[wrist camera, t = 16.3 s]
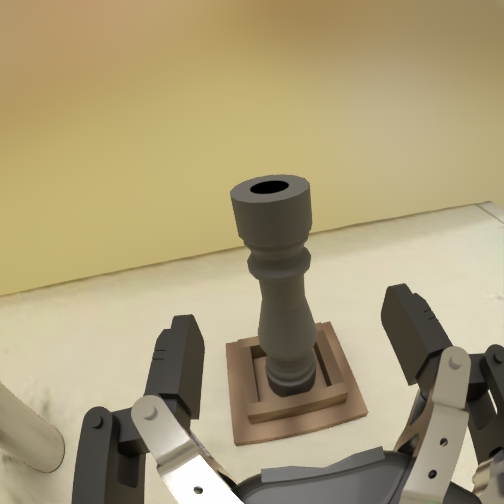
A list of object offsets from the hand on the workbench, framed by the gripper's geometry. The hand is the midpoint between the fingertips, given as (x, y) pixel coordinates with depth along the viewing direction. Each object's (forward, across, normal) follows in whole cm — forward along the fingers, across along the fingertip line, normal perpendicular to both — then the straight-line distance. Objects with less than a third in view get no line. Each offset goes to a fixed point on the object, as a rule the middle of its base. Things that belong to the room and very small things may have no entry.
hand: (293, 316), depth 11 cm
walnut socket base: (+10, 0, +25) cm, 27 cm away
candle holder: (+10, -1, +24) cm, 26 cm away
